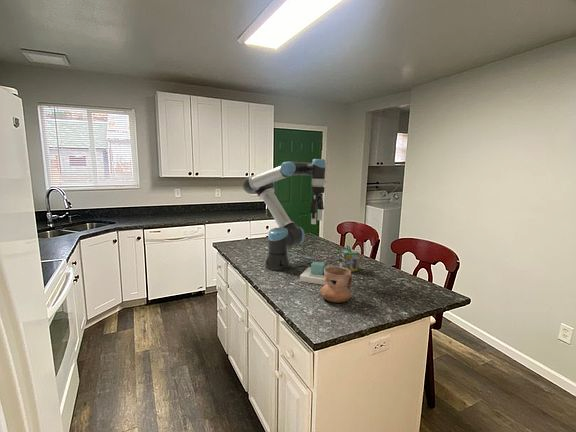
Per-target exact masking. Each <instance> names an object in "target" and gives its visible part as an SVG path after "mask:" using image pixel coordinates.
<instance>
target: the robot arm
mask: <svg viewBox="0 0 576 432" xmlns="http://www.w3.org/2000/svg"><path fill="white" fill-rule="evenodd" d="M326 167H327V165H326V160H325V159H323V158H313V159H312V162H305V161H288V160H287V161H283V162H282V163H281V165H279V166H276V167H274V168H272V169H269V170H267V171H264V172H262V173H259V174H257V175H255V174H253V175H249V176H247V177H246V178H244V179H243V182H242V188H243V191H244V192H246V193H247V194H249V195H256V196H258V198H259V199H260V200H263V202H264V204H265V205H266V207H267V209H268V211H269V212H270V214H271V216H272V217H273V219H274V220H275V222H276V225H277V226H278V227H274V228H272V229H270V230H269V231H268V236H267V240H268V241H267V245H268V249H267V257H266V259H265V262H264V267H265V269H267V270H270V271H279V272H280V271H286V270H289V268H290V267H291V264H290V259H289V256H288V248H293V247H296V246H299V245H301V244H303V242H304V241H305V236H306V233H305V230H304V229H303V228H302V226H298V225H297V224H296V222H294V221H292V220H291V219H290V217H289V216H288V214H287V212H286V210H285V209H284V207H283V205H282V204H281V202H280V201H279V199H278V197H277V196H276V194H275V182H278V181H280V180H283V179H286V178H288V177H289V178H290V177H292V176H311V193H313V195H312V199H311V205H310V210H309V213H311V215H310V216H311V218H310V220H311V221H310V224H311V225H317V221H323V210H324V209H325V207H324V196H323V195H324V194H325V185H326V184H325V183H326V182H327V180H326Z"/></svg>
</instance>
